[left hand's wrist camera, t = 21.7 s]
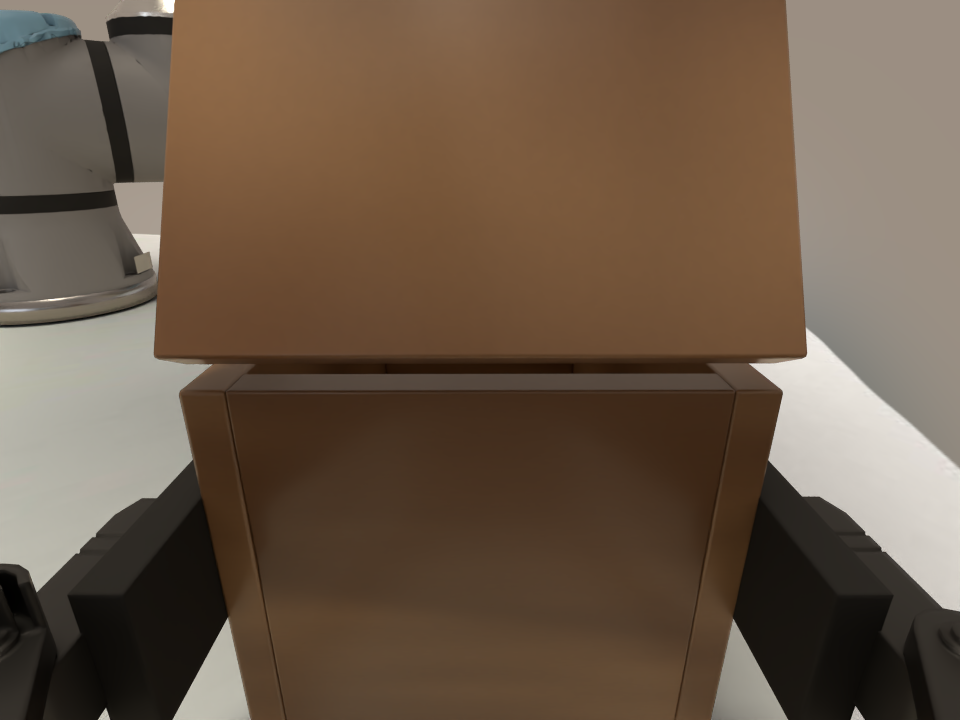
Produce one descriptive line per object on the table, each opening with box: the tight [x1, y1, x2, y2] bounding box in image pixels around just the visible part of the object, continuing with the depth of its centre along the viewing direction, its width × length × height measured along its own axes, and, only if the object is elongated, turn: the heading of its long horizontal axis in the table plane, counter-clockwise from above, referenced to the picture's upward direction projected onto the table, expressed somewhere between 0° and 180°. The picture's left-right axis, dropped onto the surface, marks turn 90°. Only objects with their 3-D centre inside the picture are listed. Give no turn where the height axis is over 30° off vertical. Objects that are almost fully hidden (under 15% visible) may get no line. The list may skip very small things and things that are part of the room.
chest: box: [179, 363, 783, 720], centre depth 17 cm, size 15×10×10 cm, turn 0°
